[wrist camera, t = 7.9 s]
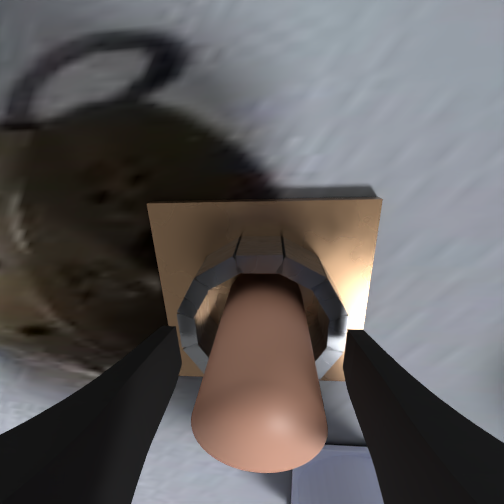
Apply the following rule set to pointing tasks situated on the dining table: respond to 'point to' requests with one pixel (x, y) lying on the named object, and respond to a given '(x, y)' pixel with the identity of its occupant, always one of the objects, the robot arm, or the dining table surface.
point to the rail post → (261, 381)
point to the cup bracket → (266, 265)
